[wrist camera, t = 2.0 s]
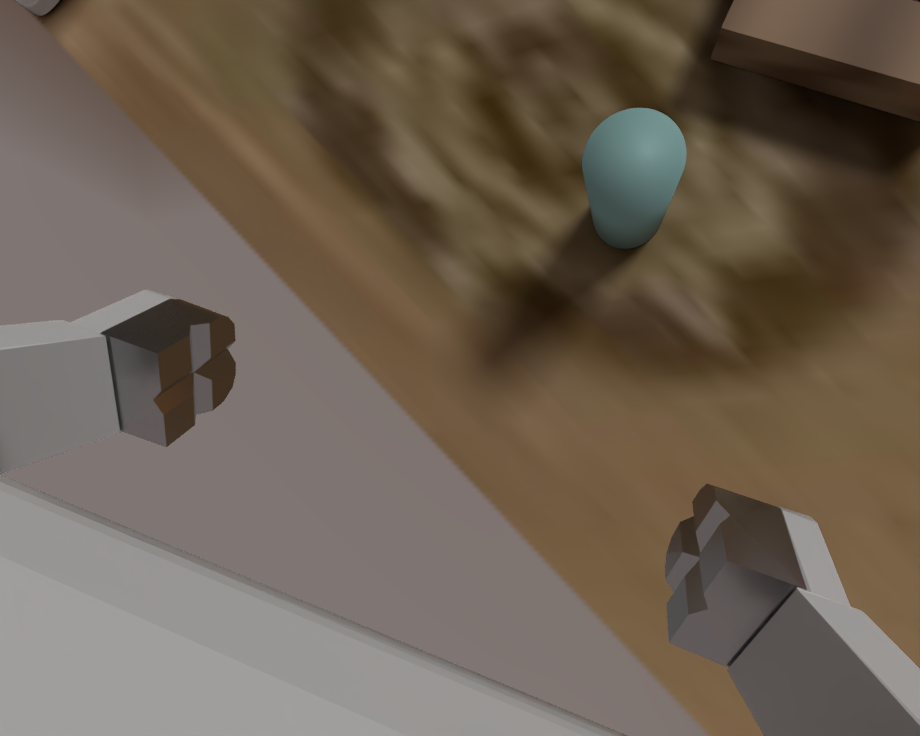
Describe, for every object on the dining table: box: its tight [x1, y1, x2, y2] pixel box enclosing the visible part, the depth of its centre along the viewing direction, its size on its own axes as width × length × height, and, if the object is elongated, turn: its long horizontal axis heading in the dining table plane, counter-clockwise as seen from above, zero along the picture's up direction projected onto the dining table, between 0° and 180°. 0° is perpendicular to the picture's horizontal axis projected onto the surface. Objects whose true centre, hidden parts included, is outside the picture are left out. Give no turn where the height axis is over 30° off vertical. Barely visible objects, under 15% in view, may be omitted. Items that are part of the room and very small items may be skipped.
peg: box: [582, 108, 686, 249], centre depth 25 cm, size 4×4×10 cm
